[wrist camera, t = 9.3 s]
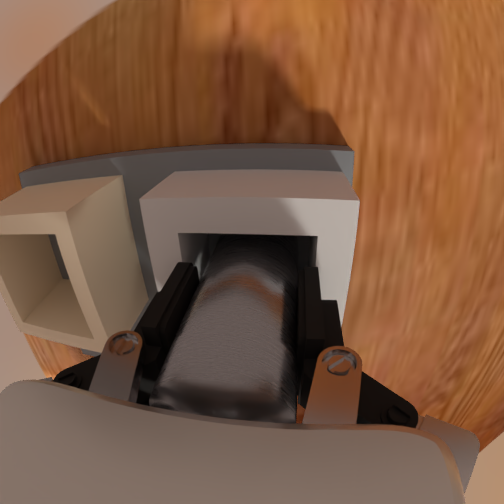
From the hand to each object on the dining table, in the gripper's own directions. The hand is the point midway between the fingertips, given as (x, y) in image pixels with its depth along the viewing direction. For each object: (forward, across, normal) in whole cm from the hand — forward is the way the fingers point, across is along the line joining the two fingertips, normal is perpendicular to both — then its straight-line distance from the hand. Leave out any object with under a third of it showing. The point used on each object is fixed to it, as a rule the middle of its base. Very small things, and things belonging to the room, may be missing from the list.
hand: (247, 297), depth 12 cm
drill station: (+6, +6, +3) cm, 8 cm away
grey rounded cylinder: (+4, 0, 0) cm, 4 cm away
